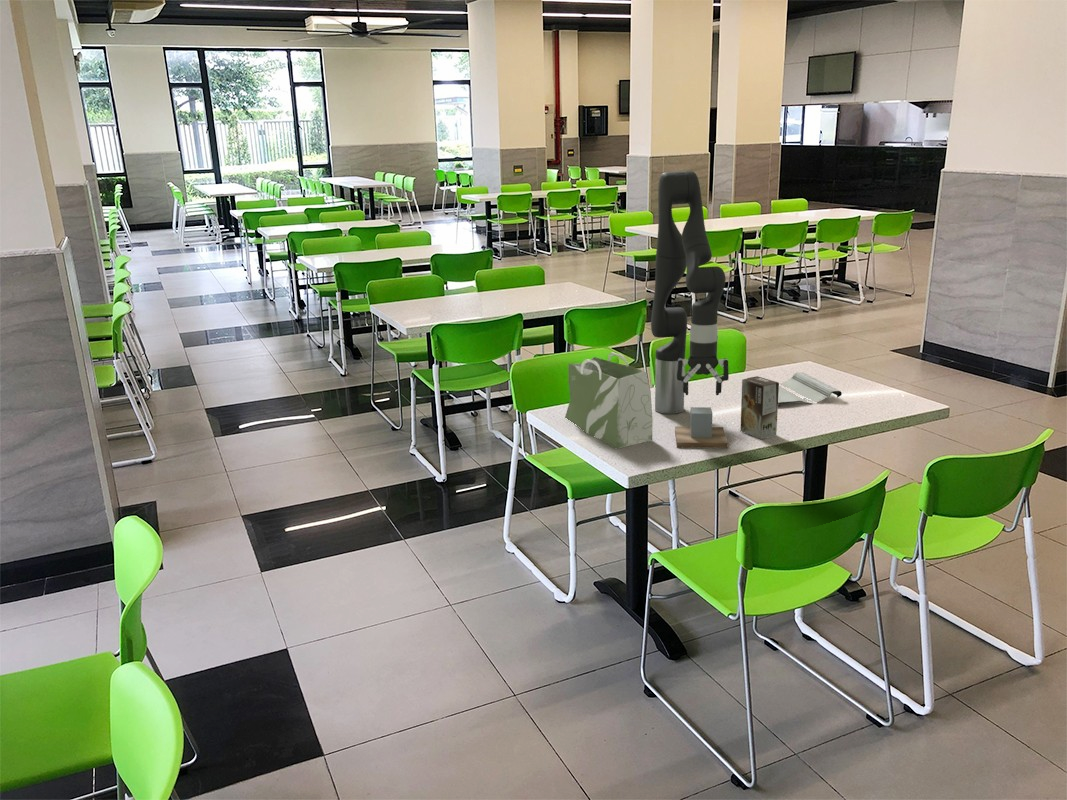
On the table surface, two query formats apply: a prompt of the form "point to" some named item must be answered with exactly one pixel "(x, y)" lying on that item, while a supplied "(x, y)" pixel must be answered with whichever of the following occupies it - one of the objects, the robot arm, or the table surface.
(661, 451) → the table surface
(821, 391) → the mat
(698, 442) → the flat brown square board
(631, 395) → the grocery bag
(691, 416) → the slate grey cube
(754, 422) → the coffee box
